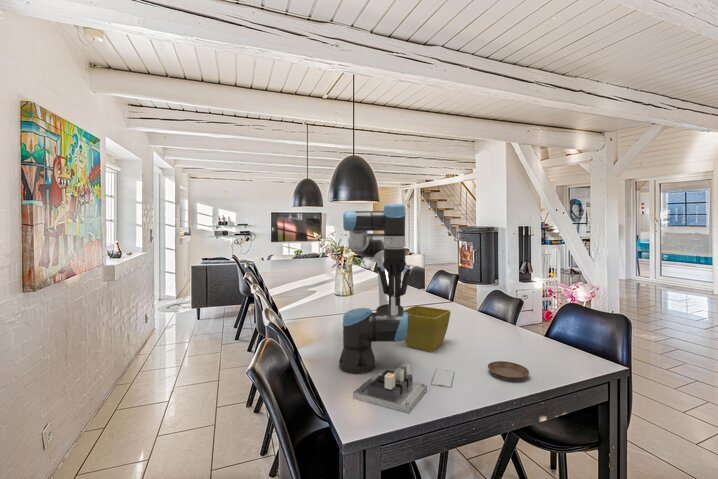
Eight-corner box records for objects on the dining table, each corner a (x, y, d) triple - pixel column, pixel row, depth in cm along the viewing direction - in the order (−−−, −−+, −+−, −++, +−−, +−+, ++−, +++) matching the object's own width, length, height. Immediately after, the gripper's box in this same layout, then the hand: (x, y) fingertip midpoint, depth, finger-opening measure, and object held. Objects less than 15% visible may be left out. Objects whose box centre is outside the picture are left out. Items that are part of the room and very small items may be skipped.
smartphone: (454, 371, 142) (451, 387, 128) (454, 372, 142) (451, 389, 128) (435, 368, 144) (430, 384, 130) (435, 370, 144) (430, 386, 130)
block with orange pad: (384, 388, 116) (384, 375, 116) (388, 384, 119) (388, 372, 119) (391, 389, 115) (391, 376, 115) (395, 386, 118) (395, 373, 118)
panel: (353, 398, 121) (353, 371, 120) (375, 378, 136) (375, 355, 135) (409, 413, 111) (409, 384, 111) (426, 390, 126) (427, 365, 125)
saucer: (538, 380, 134) (538, 373, 134) (504, 386, 130) (505, 378, 129) (510, 365, 148) (510, 359, 148) (479, 370, 144) (479, 363, 144)
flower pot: (415, 337, 185) (415, 304, 184) (451, 344, 174) (451, 309, 173) (397, 347, 170) (397, 312, 169) (435, 356, 159) (435, 318, 158)
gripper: (373, 248, 126) (373, 314, 127) (407, 249, 120) (407, 319, 121) (382, 246, 133) (382, 310, 134) (415, 248, 126) (415, 314, 127)
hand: (394, 314), depth 127 cm, fingers closed
